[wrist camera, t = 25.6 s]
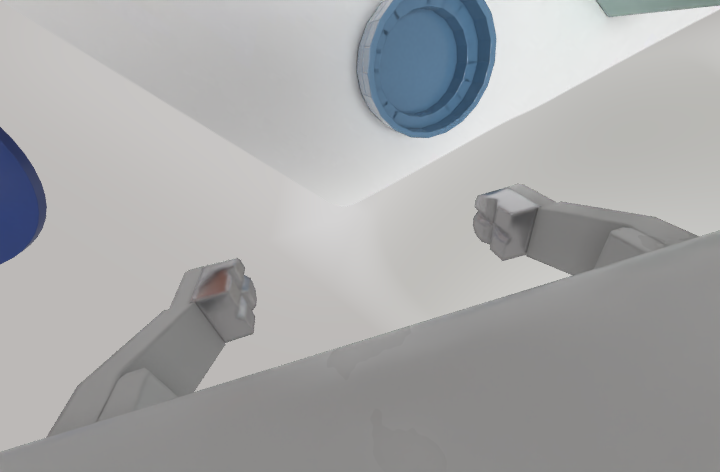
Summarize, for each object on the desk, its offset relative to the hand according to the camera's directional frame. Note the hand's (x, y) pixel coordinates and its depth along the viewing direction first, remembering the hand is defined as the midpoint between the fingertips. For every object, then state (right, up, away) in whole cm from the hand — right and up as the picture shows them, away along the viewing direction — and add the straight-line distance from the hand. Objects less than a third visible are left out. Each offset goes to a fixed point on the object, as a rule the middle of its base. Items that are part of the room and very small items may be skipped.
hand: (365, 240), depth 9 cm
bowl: (+7, +22, +26) cm, 35 cm away
